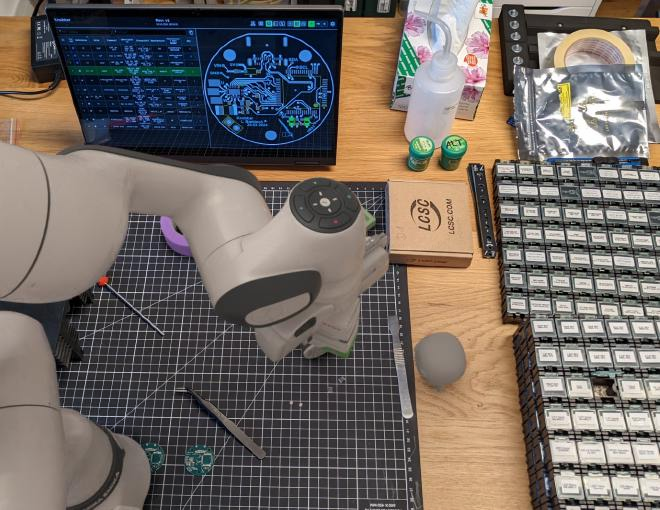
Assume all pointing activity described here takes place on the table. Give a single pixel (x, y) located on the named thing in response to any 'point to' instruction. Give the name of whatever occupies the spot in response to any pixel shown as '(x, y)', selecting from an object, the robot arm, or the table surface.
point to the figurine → (440, 359)
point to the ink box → (339, 331)
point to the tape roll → (174, 237)
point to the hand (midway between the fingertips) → (325, 322)
